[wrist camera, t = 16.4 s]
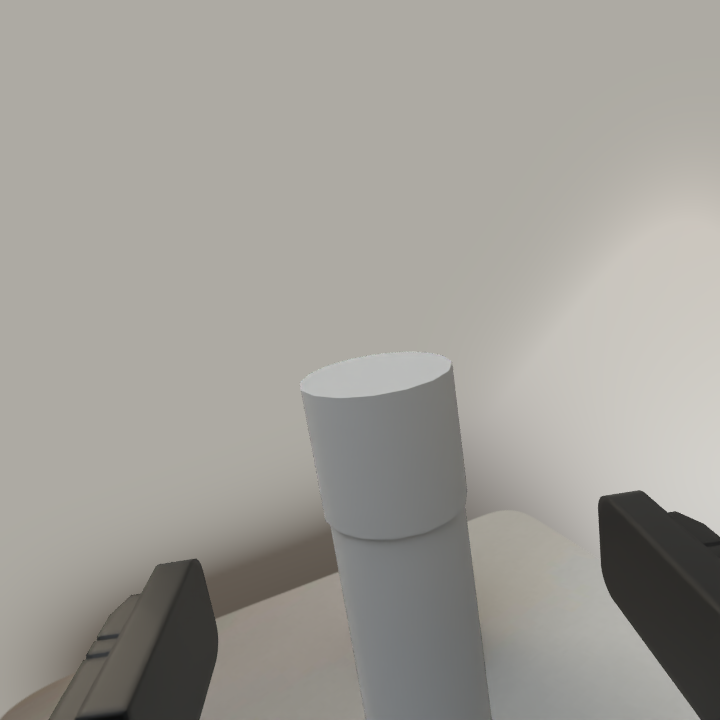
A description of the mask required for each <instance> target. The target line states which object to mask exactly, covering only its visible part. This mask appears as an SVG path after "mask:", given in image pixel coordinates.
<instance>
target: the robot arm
mask: <svg viewBox="0 0 720 720" xmlns="http://www.w3.org/2000/svg"><path fill="white" fill-rule="evenodd" d="M598 513H599V514H598V515H599V534H600V552H601V568H602V573H603V577H604V581H605V584H606V586H607V589H608V591H609V593H610V595H611V597H612V599H613V600H614V602H615V603H616V604H617V606H618V607H619V608H620V610H621V611H622V612H623V614H624V615H625V617H626V618H627V619H628V621H629V622H630V623H631V625H632V626H633V627H634V629H635V630H636V632H637V633H638V634H639V636H640V637H641V638H642V640H643V641H644V642H645V644H646V645H647V647H648V648H649V649H650V651H651V652H652V653H653V655H654V656H655V658H656V659H657V660H658V662H659V663H660V664H661V666H662V667H663V668H664V670H665V671H666V673H667V674H668V675H669V677H670V678H671V679H672V681H673V682H674V683H675V685H676V686H677V688H678V689H679V690H680V692H681V693H682V694H683V696H684V697H685V698H686V700H687V701H688V703H689V704H690V705H691V707H692V708H693V709H694V711H695V712H696V713H697V715H698V716H699V718H700V719H701V720H720V537H719V536H718V535H717V534H715V533H714V532H713V531H712V530H710V529H709V528H708V527H707V526H706V525H704V524H703V523H701V522H698V521H696V520H694V519H691V518H689V517H687V516H685V515H683V514H681V513H678V512H669V513H667V512H666V511H665V510H664V509H663V508H662V507H660V506H659V505H658V504H657V503H656V502H655V501H654V500H652V499H651V498H650V497H649V496H648V495H647V494H645V493H644V492H643V491H632V492H626V493H619V494H613V495H606V496H602V497H601V498H600V500H599V503H598ZM217 652H218V633H217V625H216V621H215V617H214V613H213V609H212V605H211V601H210V598H209V593H208V589H207V585H206V581H205V577H204V573H203V570H202V566H201V564H200V562H199V561H198V560H197V559H190V560H184V561H178V562H171V563H165V564H159V565H157V566H156V567H155V569H154V571H153V573H152V575H151V576H150V578H149V580H148V582H147V584H146V586H145V588H144V589H143V591H142V593H141V594H136V595H131V596H130V597H129V598H128V599H127V600H126V601H125V602H123V603H122V604H121V605H120V606H119V607H118V608H117V609H116V610H115V611H114V612H113V613H112V614H111V615H110V616H109V617H108V619H107V621H106V623H105V625H104V626H103V628H102V630H101V631H100V633H99V634H98V636H97V641H95V642H94V643H93V645H92V646H91V648H90V650H89V651H88V653H87V655H86V660H83V662H82V663H81V665H80V667H79V668H78V670H77V672H76V674H75V675H74V677H73V679H72V680H71V682H70V684H69V685H68V687H67V689H66V691H65V692H64V694H63V696H62V697H61V699H60V701H59V702H58V704H57V706H56V708H55V709H54V711H53V713H52V714H51V716H50V718H49V719H48V720H199V719H200V716H201V712H202V709H203V705H204V702H205V698H206V694H207V691H208V687H209V684H210V680H211V677H212V673H213V670H214V666H215V663H216V658H217Z"/></svg>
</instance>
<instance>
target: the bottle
mask: <svg viewBox="0 0 720 720" xmlns="http://www.w3.org/2000/svg"><path fill="white" fill-rule="evenodd" d="M300 387H301V392H302V398H303V404H304V409H305V414H306V420H307V425H308V430H309V436H310V441H311V446H312V451H313V457H314V462H315V468H316V473H317V478H318V484H319V489H320V494H321V499H322V505H323V510H324V515H325V521H326V522H328V523H329V524H330V525H331V531H332V536H333V542H334V547H335V553H336V558H337V564H338V569H339V575H340V580H341V586H342V591H343V597H344V602H345V608H346V613H347V619H348V624H349V630H350V635H351V641H352V646H353V652H354V657H355V663H356V668H357V674H358V679H359V685H360V690H361V696H362V701H363V707H364V712H365V718H366V720H492V718H491V710H490V702H489V694H488V686H487V678H486V670H485V662H484V654H483V646H482V638H481V630H480V622H479V614H478V606H477V598H476V590H475V582H474V574H473V566H472V558H471V549H470V541H469V533H468V525H467V517H466V509H465V504H466V496H467V484H466V476H465V467H464V459H463V451H462V442H461V434H460V425H459V418H458V408H457V400H456V392H455V384H454V375H453V366H452V362H451V361H450V360H449V359H447V358H446V357H444V356H443V355H438V354H433V353H427V352H395V353H385V354H375V355H369V356H365V357H359V358H354V359H349V360H346V361H342V362H339V363H335V364H332V365H328V366H326V367H324V368H321V369H319V370H317V371H315V372H312V373H310V374H309V375H308V376H307V377H305V378H304V379H303V380H302V381H301V382H300Z"/></svg>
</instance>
